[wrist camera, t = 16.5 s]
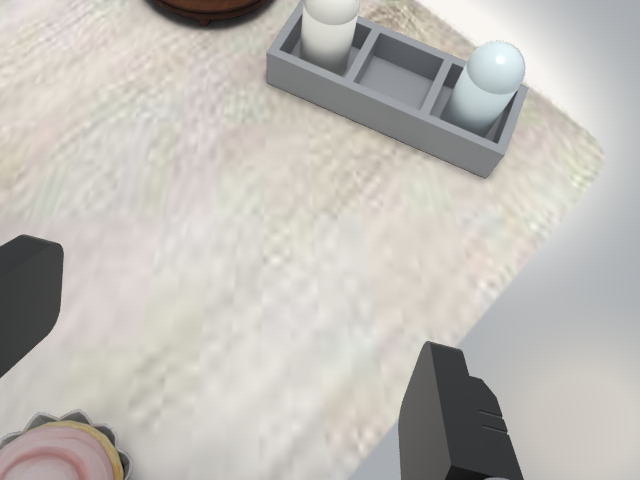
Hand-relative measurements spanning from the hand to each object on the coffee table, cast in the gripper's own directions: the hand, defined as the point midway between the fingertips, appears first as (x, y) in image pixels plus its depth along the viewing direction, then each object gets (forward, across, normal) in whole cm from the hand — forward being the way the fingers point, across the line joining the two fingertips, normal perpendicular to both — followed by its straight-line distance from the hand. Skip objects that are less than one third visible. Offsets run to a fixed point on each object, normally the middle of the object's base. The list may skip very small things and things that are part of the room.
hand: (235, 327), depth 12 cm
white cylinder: (+43, +3, -3) cm, 43 cm away
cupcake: (+16, +10, +26) cm, 32 cm away
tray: (+43, -4, -1) cm, 43 cm away
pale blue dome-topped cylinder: (+41, -11, -1) cm, 42 cm away
